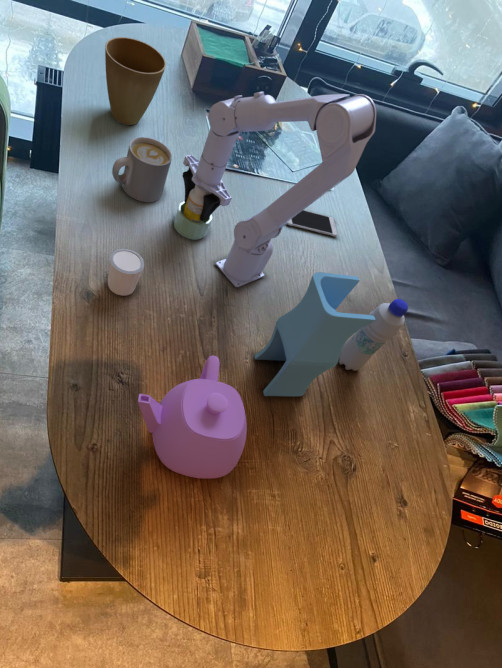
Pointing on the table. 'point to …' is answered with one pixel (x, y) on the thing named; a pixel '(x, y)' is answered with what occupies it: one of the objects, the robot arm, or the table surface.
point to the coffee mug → (144, 169)
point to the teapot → (198, 425)
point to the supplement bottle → (195, 203)
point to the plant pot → (131, 77)
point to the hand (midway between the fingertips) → (196, 210)
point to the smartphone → (314, 223)
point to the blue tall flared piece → (312, 334)
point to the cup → (190, 225)
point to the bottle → (373, 334)
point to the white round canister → (124, 271)
